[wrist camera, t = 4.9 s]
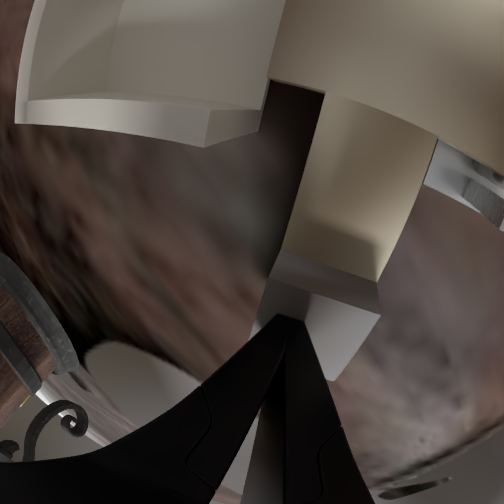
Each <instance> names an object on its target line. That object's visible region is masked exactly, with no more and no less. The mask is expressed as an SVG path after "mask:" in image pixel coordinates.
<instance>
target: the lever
mask: <svg viewBox="0 0 504 504" xmlns="http://www.w3.org/2000/svg"><path fill="white" fill-rule="evenodd" d="M266 77H267V78H269V79H271V80H273V81H275V82H280V83H284V84H289V85H293V86H297V87H301V88H305V89H309V90H313V91H316V92H320V93H323V94H325V97H324V101H323V104H322V108H321V112H320V116H319V119H318V123H317V127H316V130H315V134H314V137H313V141H312V145H311V148H310V152H309V155H308V159H307V162H306V166H305V169H304V173H303V176H302V180H301V183H300V187H299V190H298V194H297V197H296V200H295V204H294V207H293V210H292V214H291V217H290V220H289V224H288V227H287V230H286V234H285V237H284V240H283V243H282V247H281V250H280V252H279V254H278V257H277V259H276V261H275V263H274V266H273V268H272V270H271V273H270V275H269V277H268V280H267V283H266V287H265V290H264V293H263V296H262V299H261V303H260V306H259V309H258V312H257V315H256V318H255V322H254V325H253V328H252V331H251V334H250V337H249V340H250V339H251V338H252V337H253V336H254V335H255V334H256V333H257V332H258V331H259V330H260V329H261V328H262V327H264V326H265V325H266V324H267V323H268V322H269V321H270V320H271V319H272V318H273V317H274V316H275V315H276V314H277V313H280V314H283V315H286V316H289V317H291V318H295V319H298V320H302V321H304V322H305V324H306V327H307V330H308V332H309V335H310V338H311V340H312V343H313V346H314V348H315V351H316V354H317V357H318V359H319V362H320V365H321V368H322V370H323V373H324V376H325V379H328V380H331V381H335V380H336V378H337V377H338V376H339V374H340V373H341V372H342V370H343V369H344V368H345V366H346V365H347V364H348V362H349V361H350V360H351V358H352V357H353V356H354V354H355V353H356V351H357V350H358V349H359V347H360V346H361V344H362V343H363V341H364V340H365V339H366V337H367V336H368V334H369V333H370V331H371V330H372V328H373V327H374V325H375V324H376V322H377V320H378V319H379V317H380V316H381V313H380V305H379V297H378V290H377V283H376V282H377V280H378V279H379V277H380V275H381V273H382V271H383V269H384V267H385V265H386V263H387V261H388V259H389V257H390V255H391V253H392V251H393V249H394V247H395V245H396V243H397V240H398V238H399V236H400V234H401V232H402V230H403V227H404V225H405V223H406V221H407V218H408V216H409V214H410V211H411V209H412V207H413V204H414V202H415V199H416V197H417V194H418V192H419V189H420V187H421V184H422V181H423V179H424V176H425V173H426V171H427V168H428V165H429V162H430V159H431V156H432V153H433V150H434V147H435V144H436V141H437V139H439V140H441V141H443V142H445V143H447V144H449V145H451V146H452V147H454V148H456V149H458V150H460V151H461V152H463V153H465V154H466V155H468V156H470V157H471V158H473V159H475V160H476V161H478V162H480V163H481V164H483V165H484V166H486V167H487V168H489V169H491V170H492V171H494V172H495V173H497V174H498V175H499V176H501V177H502V178H504V0H286V1H285V5H284V9H283V13H282V16H281V20H280V24H279V28H278V32H277V36H276V40H275V44H274V48H273V52H272V56H271V60H270V64H269V68H268V72H267V76H266ZM249 340H248V341H249Z"/></svg>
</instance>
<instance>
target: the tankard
mask: <svg viewBox="0 0 504 504" xmlns="http://www.w3.org/2000/svg"><path fill="white" fill-rule="evenodd" d="M78 369H79V361H78V358H77V355H76V352H75V350H74V348H73V346H72V344H71V342H70V340H69V338H68V336H67V335H66V333H65V331H64V329H63V328H62V326H61V325H60V323H59V321H58V320H57V318H56V317H55V315H54V314H53V312H52V311H51V309H50V308H49V306H48V305H47V303H46V302H45V300H44V299H43V298H42V296H41V295H40V293H39V292H38V291H37V289H36V288H35V287H34V285H33V284H32V283H31V282H30V280H29V279H28V278H27V276H26V275H25V274H24V273H23V272H22V271H21V269H20V268H19V267H18V266H17V265H16V264H15V263H14V262H13V261H12V260H11V259H10V258H9V257H8V256H6V255H5V254H3V253H1V252H0V429H1V427H2V426H3V425H4V424H5V423H6V422H7V420H8V419H9V418H10V417H11V416H12V415H13V413H14V412H15V411H16V410H17V409H18V407H20V405H21V404H22V403H23V402H24V401H25V400H26V399H27V398H28V397H29V395H32V396H33V395H34V394H35V393H36V392H37V391H38V390H39V389H40V388H41V386H42V382H43V381H44V380H45V379H46V378H47V377H48V376H49V375H50V374H51V373H52V374H56V375H61V374H63V373H65V372H76V371H78ZM67 409H74V411H75V412H76V415H77V419H76V418H75V417H73V416H71V415H66V416H64V417H63V418H62V419H61V427H62V429H63V430H64V431H65V432H67V433H68V434H70V435H72V436H73V437H81V436H83V435H84V434H85V433H86V431H87V428H88V416H87V413H86V412H85V410H84V409H83V408H82V407H81V406H79V405H77V404H75V403H73V402H70V401H68V400H58V401H56V402H53V403H51V404H49V405H48V406H47V407H45V408H44V409H42V410H41V411H40V412H39V413H38V414H37V416H35V418H34V419H33V421H32V422H31V424H30V425H29V428H28V430H27V432H26V436H25V440H24V456H23V461H22V462H28V461H34V460H35V446H36V441H37V439H38V436H39V434H40V432H41V430H42V429H43V427H44V426H45V425H46V424H47V423H48V422H49V421H50V420H51V418H53V417H54V416H55V415H57V414H58V413H60V412H62V411H64V410H67ZM71 421H73V422H75V423H76V425H75V426H74V427H73V428H70V422H71ZM17 450H19V445H18V444H17V442H15V441H12V440H4V441H1V442H0V453H1V454H3V455H4V456H6V457H7V458H9V459H10V460H11V458H12V457H13V455H12V454H13V453H14V452H15V451H17Z"/></svg>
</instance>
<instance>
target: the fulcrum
mask: <svg viewBox="0 0 504 504" xmlns="http://www.w3.org/2000/svg"><path fill="white" fill-rule="evenodd" d="M422 183H423V184H425V185H427V186H429V187H431V188H433V189H436V190H438V191H440V192H442V193H444V194H446V195H448V196H450V197H452V198H453V199H455V200H457V201H459V202H461V203H463V204H465V205H467V206H468V207H470V208H472V209H474V210H476V211H477V212H479V213H481V214H483V215H484V216H485V217H486V218H487V219H488V220H490V221H491V222H492V223H493V224H494V225H495V226H496V227H497V228H498V229H500V230H501V231H503V232H504V178H502V177H501V176H499V175H498V174H497V173H495V172H494V171H492V170H491V169H489V168H487V167H486V166H484V165H483V164H481V163H480V162H478V161H476V160H475V159H473V158H471V157H470V156H468V155H466V154H465V153H463V152H461V151H460V150H458V149H456V148H454V147H452V146H451V145H449V144H447V143H445V142H443V141H441V140H439V139H437V141H436V144H435V147H434V150H433V153H432V156H431V159H430V162H429V165H428V168H427V171H426V173H425V176H424V179H423V181H422Z"/></svg>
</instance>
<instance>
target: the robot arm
mask: <svg viewBox="0 0 504 504" xmlns="http://www.w3.org/2000/svg"><path fill="white" fill-rule="evenodd" d="M260 407H261V410H260V415H259V420H258V425H257V430H256V435H255V440H254V445H253V449H252V454H251V459H250V463H249V468H248V472H247V477H246V481H245V486H244V490H243V494H242V498H241V503H240V504H375V502H374V500H373V498H372V497H371V494H370V492H369V490H368V488H367V486H366V484H365V482H364V480H363V478H362V475H361V473H360V471H359V469H358V466H357V464H356V462H355V460H354V457H353V455H352V452H351V449H350V447H349V444H348V441H347V439H346V436H345V433H344V430H343V427H340V426H341V421H340V418H339V415H338V413H337V410H336V407H335V404H334V401H333V398H332V396H331V393H330V390H329V387H328V384H327V381H326V379H325V376H324V373H323V370H322V368H321V365H320V362H319V359H318V357H317V354H316V351H315V348H314V346H313V343H312V340H311V338H310V335H309V332H308V330H307V327H306V324H305V322H304V321H302V320H298V319H295V318H291V317H289V316H286V315H283V314H280V313H277V314H276V315H275V316H274V317H273V318H272V319H271V320H270V321H269V322H268V323H267V324H266V325H265V326H264V327H262V328H261V329H260V330H259V331H258V332H257V333H256V334H255V335H254V336H253V337H252V338H251V339H250V340H249V341H248V342H247V343H246V344H245V345H244V346H243V347H242V348H240V349H239V350H238V351H237V352H236V353H235V354H234V355H233V356H232V357H231V358H230V359H229V360H228V361H226V362H225V363H224V364H223V365H222V366H221V367H220V368H219V369H218V370H217V371H215V372H214V373H213V374H212V375H211V376H210V377H209V378H208V379H206V380H205V381H204V382H203V383H202V384H201V386H198V387H197V388H196V389H195V390H194V391H193V392H191V394H189V395H188V396H187V397H185V398H184V399H183V400H182V401H180V402H179V403H178V404H176V405H175V406H174V407H173V408H171V409H170V410H168V411H167V412H165V413H164V414H162V415H160V416H159V417H157V418H156V419H154V420H153V421H151V422H149V423H148V424H146V425H145V426H142V427H141V428H139V429H137V430H135V431H134V432H132V433H130V434H128V435H126V436H124V437H123V438H121V439H119V440H117V441H115V442H113V443H111V444H109V445H107V446H105V447H103V448H101V449H98V450H96V451H93V452H90V453H86V454H83V455H78V456H71V457H65V458H57V459H49V460H40V461H28V462H14V461H12V460H10V459H9V458H7V457H6V456H4V455H3V454H1V453H0V504H209V503H210V501H211V499H212V498H213V496H214V494H215V491H216V490H217V489H218V487H219V486H220V484H221V482H222V480H223V479H224V477H225V475H226V473H227V471H228V470H229V468H230V466H231V464H232V462H233V460H234V458H235V457H236V455H237V453H238V451H239V449H240V447H241V445H242V443H243V441H244V439H245V437H246V435H247V433H248V431H249V429H250V427H251V425H252V423H253V421H254V419H255V417H256V415H257V413H258V411H259V409H260Z"/></svg>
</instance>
